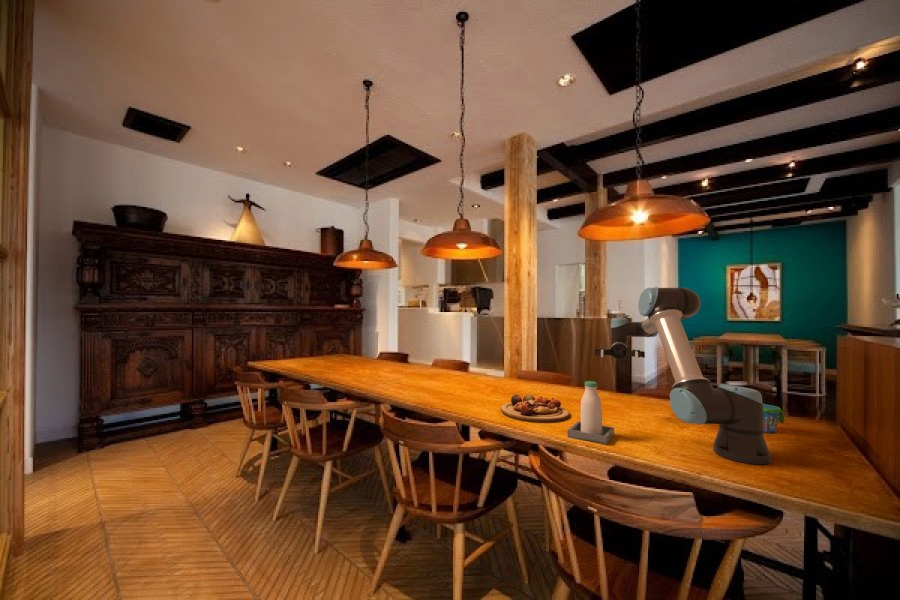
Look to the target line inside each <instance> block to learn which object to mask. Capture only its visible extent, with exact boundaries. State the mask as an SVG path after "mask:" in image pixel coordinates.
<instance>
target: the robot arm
mask: <svg viewBox="0 0 900 600" xmlns="http://www.w3.org/2000/svg"><path fill="white" fill-rule="evenodd" d="M701 304H702V303H701V299H700V297H699V295H698V294H697V293H696V292H695V291H693V290H692V289H689V288H687V287H658V286H654V287H648V288H645V289H644V290H643V291H641V293H640V296H639V299H638V311H639V314H640V315H641V316H643V317H645V318H646V317H647V318H646V319H644V320H643V321H628V319H627V318H624V317H619V318H618V317H612V318H611V320H610V348H608V349H607V348H606V347H603V348H597V349H595V348H594V355H595V356H598V357H599V358H604V356H609V357H611V356H612V357H613V358H615V359H616V360H624V359H625V358H626V357H634V359H636V360H639V358H645V357H646V356H645V355H646V352H645V351H644V350H643V351H642V350H641V349H631V350H630V349H629V348H628V338H655V337H656V336H657V335H658V336H659V339H660V341H661V342H660V343H661V345H662V348H663V351H664V353H665V356H666V359H667V362H668V364H669V365H668V366H669V367H670V371H671V374H672V377H673V379H674V383H673V384H672V386H671V387H672V390H671V391H670V393H669V398H670V399H669V404H670V405H669V406H670V407H671V410H672V412H673V413H674V415H675V416H676V417H677V419H679V420H680V421H682V422H683V423H685V424H690V425H692V424H693V425H698V426H699V425H718V431H717V433H716V436H715V437H714V438H715V439H714V441H713V443H712V445H713V446H712V447H713V448H712V449H713V450H712V451H713V452H714V453H715V454H717V456H721V457H723V458H725V459H729V460H730V461H731V460H732V461H735V462H738V463H746V464H751V465H768V464H771V463H772V454H771V451H770V449H769V447H768V446H769V445H767V442H766V439H765V436H764V432H763V404H764V403H763V395H762V394H761V392H760V391H759V390H757V389H753V388H751V387H750V388H749V387H745V386H739V385H734V384H728V383H718V386H717V388H714V386H713V384H712V381H711V380H710V379H708V378H706V377H704V376H703V374H702V373H703V372H702V370H701V369H700V365H699V363H698V361H697V359H696V356H695V353H694V351H693V349H692V346H691V343H690V341H689V339H688V336H687V334H686V331H685V329H684V326H683V324H682V321H681V320H687V319H689V318H691V317H694V316H695V315H696V314H698V312H699V311H700V308H701Z"/></svg>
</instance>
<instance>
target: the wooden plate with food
mask: <svg viewBox="0 0 900 600" xmlns="http://www.w3.org/2000/svg"><path fill="white" fill-rule="evenodd" d="M561 405H562V402H561V401H560V400H559V399H554V398H553V397H551V399H549V397H543V395H540V396H538V397H537V398H535V396H533V395H532V394H531V393H527V394H526V395H524V396H523V398H522V397H521V396H520V395H519V394H518V393H515V394H513V395H512V396H511V398H510V402H506V403H505V404H503V405H501V407H500V411H501V413H502V414H503V415H505V416H507V417H509V418H512V419H516V420H521V421H526V422H533V423H556V422H562V421H563V422H564V421H565V420H567V419H569V418H570V412H569V411H568V410H567V409H566V408H564V407H562V406H561Z"/></svg>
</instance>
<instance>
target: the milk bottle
mask: <svg viewBox="0 0 900 600" xmlns="http://www.w3.org/2000/svg"><path fill="white" fill-rule="evenodd" d="M584 388H585V389H584V390H585V391H584V393H583V395H582V397H581V401H580V422H581V432H586V433H591V434H596V435H602V425H603V409H602V408H603V407H602V406H603V405H602V400H601V398H600V396H599V394H598V390H597V389H598V382H596V381H593V380H592V381H591V380H589V381H587V380H586V381H584Z"/></svg>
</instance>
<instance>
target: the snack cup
mask: <svg viewBox="0 0 900 600" xmlns="http://www.w3.org/2000/svg"><path fill="white" fill-rule="evenodd" d="M785 421H786V420H785V415H784V412H783V410H782V409H781V407H779V406H777V405H772V404H771V405H770V404H766V403H763V433H767V434H771V433H773V432H774V433H776V432H777V429H778V423H781V424H784V423H785ZM774 433H773V434H774Z"/></svg>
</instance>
